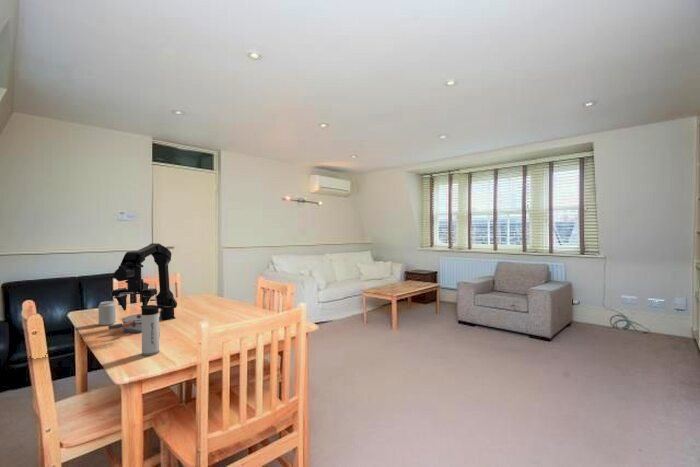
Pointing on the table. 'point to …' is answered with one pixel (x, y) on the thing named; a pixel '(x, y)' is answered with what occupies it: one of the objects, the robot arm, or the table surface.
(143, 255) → the robot arm
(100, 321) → the can
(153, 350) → the travel mug
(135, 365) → the table surface
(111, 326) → the pot
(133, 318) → the lid
